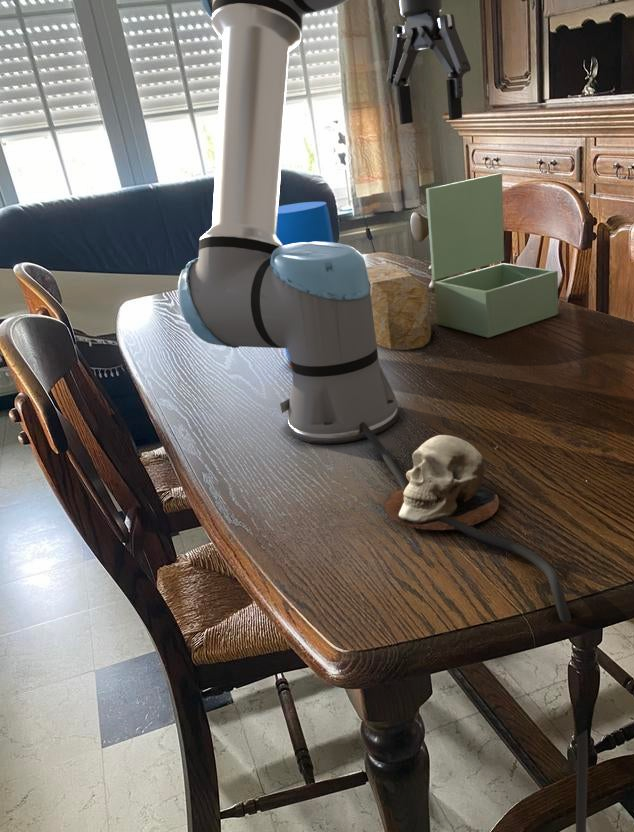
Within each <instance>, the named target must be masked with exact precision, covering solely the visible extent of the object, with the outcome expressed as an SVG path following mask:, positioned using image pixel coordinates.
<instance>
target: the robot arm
mask: <svg viewBox="0 0 634 832" xmlns="http://www.w3.org/2000/svg"><path fill="white" fill-rule="evenodd" d="M346 2H349V0H200V3H201V5H202V7H203V9H204V11H205V12H206V14H207V16H208V17H209V18H210V19H211V26H212V28H213V30H214V31H215V33H216V34H217V35H218V36H219V38H220V39H221V41H222V48H221V63H220V80H219V97H218V99H219V100H218V115H217V116H218V117H217V131H216V132H217V134H216V150H215V168H214V169H215V170H214V187H213V203H212V220H211V227H210V229H208V230H207V231H206V232H205V233H204V234H202V235H201V236H200V237H199V244H198V257H196V258H194V259H192V260H191V261H189V262H187V264H186V265H185V268H183V269H182V270H181V272H180V274H179V278H178V282H177V297H178V303H179V308H180V312H181V314H182V316H183V318H184V320H185V322H186V324H188V325H189V327H190V329H191V331H192V332H193V333H194V334H195V336H196V337H198V338H199V339H201V340H202V341H203V342H206V343H208V344H211V345H215V346H224V347H226V348H227V347H228V348H232V349H236V348H240V347H242V348H244V347H245V348H265V349H267V348H270V349H285V348H287V349H288V352H289V357H290V362H291V367H292V369H291V372H292V380H291V385H290V386H291V387H290V395H289V397H288V399H286V400H284V401H282V402H280V403H279V405H280V410H281V414H284V413H285V412H287V423H288V428H289V432H290V434H291V435H292V436H293V437H294V438H296V439H298V440H299V441H300V440H301V441H302V442H307V443H311V444H320V445H321V444H323V445H325V444H326V445H327V444H328V445H329V444H332V445H333V444H343V443H350V442H356V441H360V440H364V439H366V438H367V439H368V440H369V443H371V444H372V447H374V448H375V450H376V451H377V452H378V454H379V456H380V457H381V459H382V460H383V461H384V463H385V464H386V466H387V467H388V469H389V471H390V472H391V473H392V476H393V477H394V478H395V480H396V481H397V483H398V485H399V487H400V488H401V489H402V490H403V492H404V490H405V488H406V487H407V486H408V484H409V481H408V480H407V478H406V476H405V475H404V474H403V472H402V471H401V470H400V468H399V467H398V465H397V464H396V462H395V460H393V458H392V456H391V455H390V453H389V452H388V451H387V449H386V448H385V446H384V445H383V444H382V442H381V441H380V440H379V438H378V437H377V436H376V435H378V434H380V433H382V432H384V431H386V430H387V429H389V428H390V427H392V426H393V425H394V424H395V423H397V421H398V419H399V417H400V416H399V415H400V413H399V405H398V401H397V398H396V395H395V393H394V391H393V389H392V387H391V385H390V382H389V381H388V378H387V376H386V374H385V371H384V369H383V368H382V366H381V363H380V361H379V360H380V359H379V353H378V344H376V335H375V327H374V319H373V310H372V302H371V294H370V290H371V284H370V281H369V279H368V274H367V269H366V267H367V266H366V261H365V258H364V256H363V254H362V253H361V252H359V250H357V249H356V248H355V247H352V246H351V245H347V244H344V243H339V242H334V241H333V242H310V243H305V242H299V243H292V244H287V245H284V246H283V244H282V243H281V242H280V240H279V239H278V238H277V235H276V234H277V219H278V206H279V203H280V202H279V201H280V189H281V187H280V186H281V171H282V157H283V143H284V142H283V141H284V127H285V113H286V101H287V100H286V99H287V85H288V84H287V83H288V71H289V70H288V69H289V68H288V67H289V53H290V52H292V51H293V50H294V49H296V48H297V47H298V46H299V45H300V44H301V41H302V35H303V34H302V33H303V20H304V16H305V15H308V14H311V13H312V14H313V13H316V12H321V11H326V10H329V9H333V8H335V7H337V6H340V5H342V4H344V3H346ZM399 9H400V15H401V16H402V17H403V18H404V24H396V25H393V27H392V36H393V37H392V45H391V51H390V57H389V63H388V68H387V75H386V83H387V84H388V85H392V86H393V87H394V88H395V89H394V90H395V98H396V104H397V106H398V112H399V123H400V125H406V124H412V123H414V117H413V106H412V96H411V85H410V84H409V82H408V79H409V78H410V74H411V72H412V69H413V66H414V64H415V61H416V59H417V56H418V54H419V53H420V52H421V51H422V50H426V49H430V50H432V51H433V53H434V54H435V56H436V58H437V59H438V61H439V62H440V63H441V65H442V67H443V68H444V70H445V72H446V73H447V79H446V95H447V106H448V109H447V110H448V121H453V120H460V119H463V107H462V98H463V96H464V87H463V77H464V75H465V74H467V73H470V71H471V69H472V68H471V64H470V62H469V59H468V56H467V54H466V51H465V49H464V47H463V44H462V41H461V39H460V36H459V33H458V31H457V28H456V21H455V15H454V14H453V13H447V14H440V12H441V11H442V10H443V0H399ZM439 521H441V522H444V523H446V524H448V525H451V526H454V527H456V528H457V529H455V530H454V531H458V532H460V533H463V534H465V535H467V536H469V537H471V538H474V539H475V540H478V541H480V542H482V543H485V544H488V545H489V546H494V547H496V548H499V549H502V550H504V551H508V552H510V553H513V554H515V555H517V556H520V557H521V558H523V559H525V560H527V561H529V562H530V563H532V564H533V565H534V566H535V567H537V568H538V569H539V570H540V571H541V572H542V573H543V574H544V576H545V577H546V579H547V582H548V584H549V588H550V591H551V594H552V598H553V602H554V604H555V608H556V611H557V614H558V618H559V620H560V621H562V622H563V623H570V622H571V621H572V616H571V612H570V609H569V607H568V604H567V600H566V597H565V594H564V590H563V586H562V583H561V579H560V576H559V574H558V572H557V571H556V570H555V568H554V567H553V566H552V565H551V564H550V563H548V561H546V560H545V559H544V558H543V557H541V556H540V555H539V554H537V553H536V552H535V551H533V550H531V549H529V548H527V547H525V546H523V545H522V544H519V543H516V542H513V541H511V540H508V539H505V538H502V537H500V536H497V535H494V534H490V533H488V532H486V531H483V530H480V529H478V528H476V527H474V526H469V525H467V524H465V523H462V522H460V521H457V520H455V519H452V518H450V517H448V516H445V515H443V516H441V517H440V518H439ZM588 744H589V743H588V729H586V730H584V731H582V732H581V733H580V734H578V736H576V791H575V792H576V793H575V796H576V799H575V832H587V805H588V803H587V802H588V773H589V772H588V764H589V761H588V760H589V758H588V757H589V750H588V749H589V748H588V747H589V746H588Z"/></svg>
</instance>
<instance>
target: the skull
mask: <svg viewBox="0 0 634 832" xmlns="http://www.w3.org/2000/svg"><path fill="white" fill-rule="evenodd" d="M411 457H412V463H413V468H412V469H409V470H408V471H407V472H406V473H405V479H406V480H407V482H408V486H407V487H406V488H405V490H404V492H403V490H402V489H401V487H400V488H399V489H397V490H395V491H393V493H391V494H390V495H389V496H388V497H387V499H386V501H385V503H384V509H385V512H386V513H387V515H388V516H389V517H390V518H391V519H392V520H393V521H395V522H397V523H399V524H400V525H402V526H405V527H407V528H411V529H419V530H430V531H446V530H447V531H449V530H453V531H456V530H455V529H457V528H456V527H454V526H451V525H448V524H446V523H444V522H441V521H439V518H440V517H441V516H443V515H445V516H448V517H450V518H452V519H455V520H457V521H460V522H462V523H465V524H467V525H469V526H471V527H473V526H475V525H477V524H480V523H482V522H483V523H484V521H486V520H488V519H490V518H491V517H493V515H494V514H495V513H496V512H497V511H498V509H499V506H500V499H499V496H498V495H497V493H496V492H494V491H493V490H491V489H490V488H489V487H488V488H487V486H485V485H483V480H484V475H485V465H484V460H483V459H484V458H483V454H481V453H480V452H479V450H478V449H477V448H476V447H475V446H474V445H472V444H470V443H469V442H468V441H466V440H464V439H462V438H459V437H456V436H453V435H447V434H438V435H435V436H432V437H430V438H429V439H427V440H426V441H424V442H423V443H422V444H421V445H419V447H417V448H416V450H414V452H413V453H412V456H411Z"/></svg>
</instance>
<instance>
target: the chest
mask: <svg viewBox="0 0 634 832" xmlns="http://www.w3.org/2000/svg"><path fill="white" fill-rule="evenodd" d="M558 272H559V271H558V270H553V269H547V268H540V267H533V266H526V265H521V264H520V265H519V264H514V263H505V262H500V263H498V264H494V265H490V266H488V267H487V266H486V267H482V268H480V269H477V270H473V271H470V272H469V271H468V272H466V273H461V274H459V275H458V274H457V275H454V276H450V277H448V279H444V280H441V281H437V282H434V289H435V290H434V299H435V311H436V320H437V321H436V322H437V325H439V326H443V327H447V328H449V329H453V330H457V331H461V332H464V333H467V334H468V333H469V334H473V335H477V336H480V337H482V338H483V337H484V338H487V339H489V338H492V337H494V336H497V335H501V334H504V333H506V332H507V333H508V332H510V331H512V330H513V331H514V330H515V329H519V328H521V327H526V326H529V325H531V324H534V323H537V322H539V321H543V320H546V319H549V318H552V317H555V316H557V315H559V284H558V283H559V281H558V280H559V273H558Z"/></svg>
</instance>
